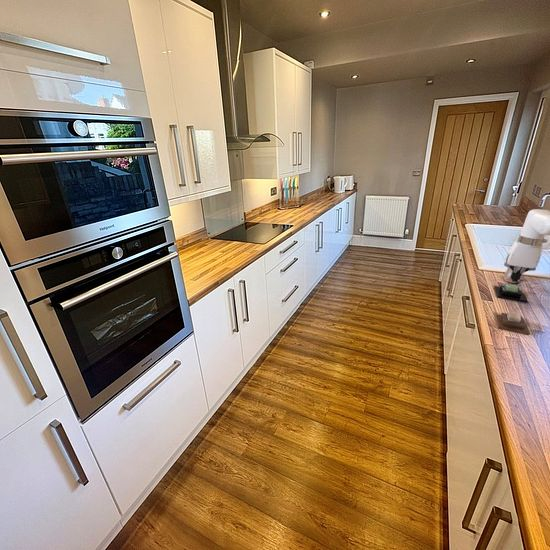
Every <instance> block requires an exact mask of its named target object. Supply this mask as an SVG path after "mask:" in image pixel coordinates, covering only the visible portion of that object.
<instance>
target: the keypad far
mask: <svg viewBox="0 0 550 550" xmlns="http://www.w3.org/2000/svg"><path fill="white" fill-rule="evenodd" d="M505 287H506V284H505V285H504V284H500V286H498V285H494V286H493V291H494V294H495V296H496V298H497V299H501V300H507V301H511V302H512V301H513V302H518V303H523V304H526V302H527V299H526V297H525V295H524V293H523V291H522V290H521V289H520V288H519V287H517V288H518V291H517V292H512V291H506V288H505Z"/></svg>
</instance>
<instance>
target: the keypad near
mask: <svg viewBox="0 0 550 550" xmlns="http://www.w3.org/2000/svg"><path fill="white" fill-rule="evenodd" d="M507 314H508V313H505V312H501V313H500V314H497V313H495V314H494V320H495V323H496V327H497V329H498V330H501V331H505V332H506V331H507V332H511V333H516V334H520V335H525V336H529V335H530V333H531V332H530V329H529V328H528V326H527V323H526V321H525V319H524V318H523V316H520V318H521V321H520V323H518V322H513V321H509V320H508V318H507Z"/></svg>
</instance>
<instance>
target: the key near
mask: <svg viewBox="0 0 550 550" xmlns="http://www.w3.org/2000/svg"><path fill="white" fill-rule="evenodd" d="M506 314H507V318H508V320H509V321H513V322H518V323H520V321H521V318H520V314H517V313H513V312H507V313H506Z"/></svg>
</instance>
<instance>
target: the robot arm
mask: <svg viewBox="0 0 550 550" xmlns="http://www.w3.org/2000/svg"><path fill="white" fill-rule="evenodd" d="M545 236H550V210H547V209H543V208H542V209H541V208H534V209H530V210H529V211H528V213H527V215H526V217H525V220H524V223H523V226H522V228H521V230H520V234H519V236H518V239H517V240H515V241H514V242H513V243H512V245H511V246H510V248H509V251H508V252H507V254H506V257H505V262H504V263H503V266H504V267H506V268H511V270H512V274H511V277H510V278H511V279H512V281H515V282H517V281H518V280H520V277H521V278H522V276H521V275H524V274H525V273H527V272H532V271H533V272H534V271H536V270H537V267H538V265H539V262H540V259H541V256H542V251H543V243H544V244H546V243H548V239H546V238H545ZM518 267H520V269H519V270H518V271H517V268H518ZM520 281H521V280H520Z"/></svg>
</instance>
